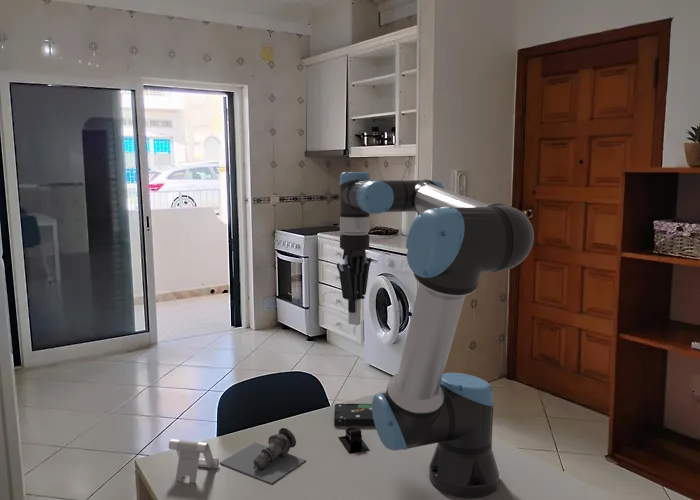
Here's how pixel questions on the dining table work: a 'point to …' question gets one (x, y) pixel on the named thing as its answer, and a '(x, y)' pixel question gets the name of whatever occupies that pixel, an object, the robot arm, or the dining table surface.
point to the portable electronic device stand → (192, 458)
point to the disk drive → (353, 415)
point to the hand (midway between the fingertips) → (354, 323)
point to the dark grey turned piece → (275, 448)
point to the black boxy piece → (353, 440)
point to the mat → (270, 472)
